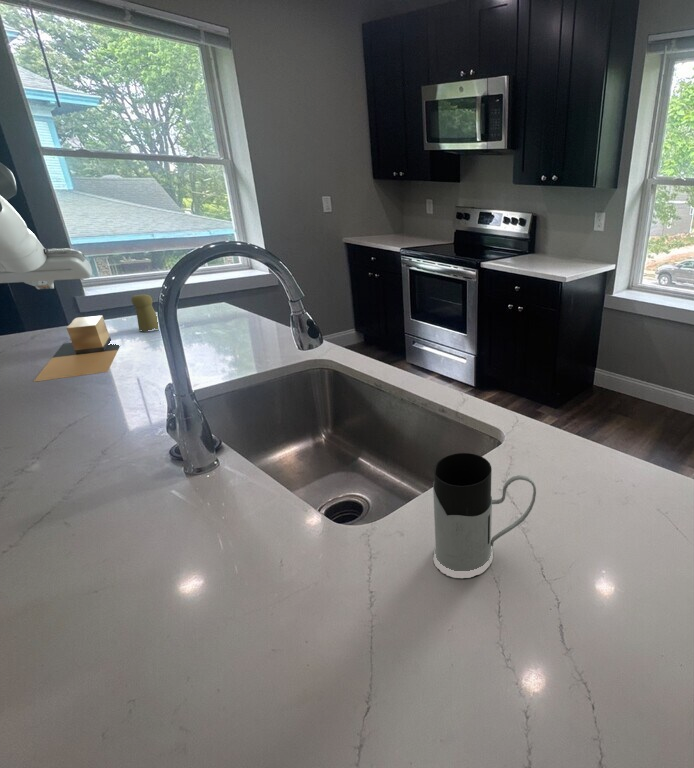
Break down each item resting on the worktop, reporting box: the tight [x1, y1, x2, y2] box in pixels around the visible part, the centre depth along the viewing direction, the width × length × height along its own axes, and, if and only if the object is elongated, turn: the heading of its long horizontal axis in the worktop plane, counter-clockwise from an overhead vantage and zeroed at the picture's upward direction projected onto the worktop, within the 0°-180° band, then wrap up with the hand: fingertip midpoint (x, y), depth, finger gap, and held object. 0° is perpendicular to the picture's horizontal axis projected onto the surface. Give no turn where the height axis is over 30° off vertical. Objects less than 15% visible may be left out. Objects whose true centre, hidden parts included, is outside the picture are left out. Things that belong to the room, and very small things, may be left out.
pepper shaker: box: [131, 293, 158, 331], centre depth 145 cm, size 6×6×11 cm
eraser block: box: [66, 315, 111, 354], centre depth 131 cm, size 6×10×8 cm, turn 29°
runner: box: [32, 342, 121, 383], centre depth 126 cm, size 14×29×1 cm, turn 30°
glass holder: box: [432, 452, 537, 571], centre depth 64 cm, size 9×14×15 cm, turn 93°
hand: (46, 286), depth 111 cm, fingers closed
